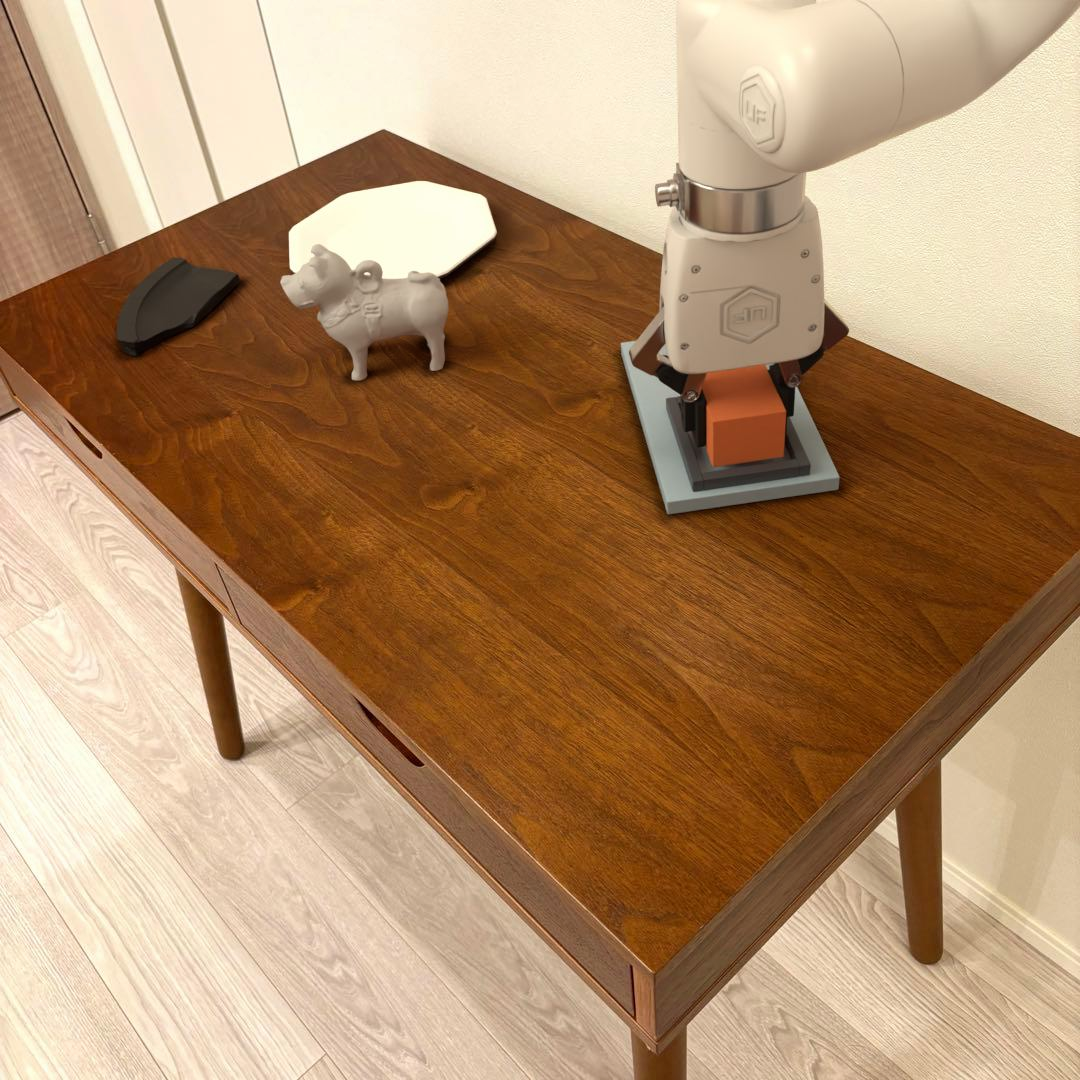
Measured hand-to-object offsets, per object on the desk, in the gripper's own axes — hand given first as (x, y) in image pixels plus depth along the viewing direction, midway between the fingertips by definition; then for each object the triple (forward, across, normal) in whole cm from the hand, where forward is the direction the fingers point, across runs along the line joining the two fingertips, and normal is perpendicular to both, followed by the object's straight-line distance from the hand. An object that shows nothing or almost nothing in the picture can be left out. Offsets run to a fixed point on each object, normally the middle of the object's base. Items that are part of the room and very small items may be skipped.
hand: (736, 427), depth 81 cm
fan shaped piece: (+2, -46, +33) cm, 56 cm away
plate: (+2, -25, +39) cm, 46 cm away
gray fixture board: (+2, 0, +5) cm, 5 cm away
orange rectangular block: (0, 0, 0) cm, 0 cm away
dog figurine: (+3, -26, +19) cm, 32 cm away
